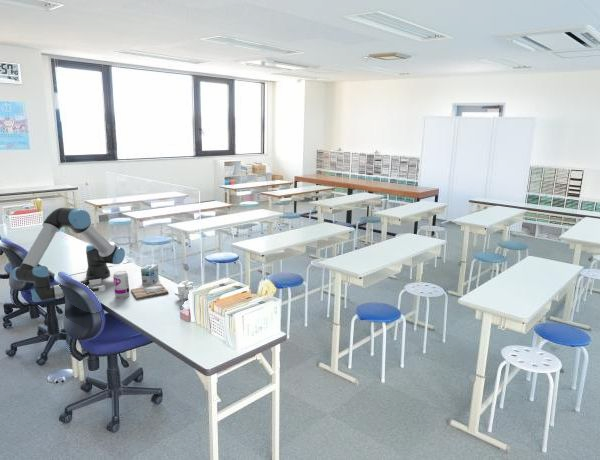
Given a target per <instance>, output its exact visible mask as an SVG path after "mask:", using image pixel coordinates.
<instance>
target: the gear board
mask: <svg viewBox="0 0 600 460" xmlns="http://www.w3.org/2000/svg"><path fill="white" fill-rule="evenodd" d="M130 293H131V294H132V295H133V297H134V298H135V300H136V301H139V300H144V299H150V298H154V297H155V298H156V297H159V296H165V295H169V291H168V290H167V288H166V287H165V286H164V285H163V284H162V283H159V284H154V285H153V284H151V285H149V286H142V287H137V288H132V289H130Z"/></svg>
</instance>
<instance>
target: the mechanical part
mask: <svg viewBox="0 0 600 460" xmlns="http://www.w3.org/2000/svg"><path fill="white" fill-rule="evenodd" d="M193 288H195V289H196V286H195V285H194V282H193V281H189V280H188V279H185V280H183V281H181V282H179V284H178V285H177V289H175V290H174V295H175V296H177V297H178V299H179V300H181V302H183V300H185V299H188V294H189V290H191V289H193ZM188 300H189V299H188Z"/></svg>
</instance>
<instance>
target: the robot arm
mask: <svg viewBox="0 0 600 460" xmlns="http://www.w3.org/2000/svg"><path fill="white" fill-rule="evenodd" d="M62 228H69V229H71V231H72V232H74V233H75V234H80V235H81V236H82V237H83V238H84V239H85V240H86V241H87V242H88V243H89V244H88V245H87V246H86V247H85V254H86V259H87V260H86V261H87V262H86V263H87V270H86V273H85V276H86V279H83V280H82V281H79V282H81V283H83V284H85V285H86V286H92V287H88V288H89V289H91V290H92V291H93V293H97V292H103V291H105V290H106V286H105V285H99V286H94V287H93V285H98V284H102V279H106V278H108V277H110V276H111V271H110V268H109V267H108V265H107V264H109V265H110V264H112V265H120V264H121V263H123V262H124V260H125V256H126V251H125V249H124V248H123V247H122V246H117V245H116V244H115V243H114V242H113V241H109V240H108V239H107V238H105V236H104V235H103V234H102V233H101V232H100V231H98V229H97V228H95V226H94V225H92V218H91V214H90V213H89V212H88V211H87V210H85V209H81V208H73V207H72V208H71V207H59V208H56V209H54V210H52V212H51V213H49V214H48V216H47V217H46V218H45V220H44V221H43V223H42V228H41V230H40V232H39V233H38V235H37V236H36V239H35V241H33V243H32V246H31V247H30V248H29V250H28V252H27V254H26V256H25V257H24V258H23V261H22V262H21V264H20V266H17V267H15V268H14V269H12V271H11V278H12V279H13V280H15V281H18V282H25V283H33V284H34V288H32V289H30V293H31V299H32V302H35V303H37V302H44V301H49V300H50V301H51V300H55V299H57V300H59V299H61V298H66V297H65V296H64V293H63V290H62V289H61V287H60V286H59V285H60V284H55V285H51V283H50V272H49V268H48V267H47V266H46V265H39V264H40V261H41V260H42V259H43V257H44V254H45V253H46V251H47V249H48V248H49V246H50V244H51V243H52V240H53V239H54V237H55V235H56V234H57V233H58V232H60V230H61V229H62ZM86 286H85V287H86Z"/></svg>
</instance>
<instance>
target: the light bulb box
mask: <svg viewBox="0 0 600 460" xmlns="http://www.w3.org/2000/svg"><path fill="white" fill-rule="evenodd" d="M140 273H141V284H142V285H149V286H152V285H153V284H154V283H157V281H159V279H160V278H159V277H160V276H159V265H158V264H153V263H152V264H151V263H148V264H146V265H145V266H143V267H142V268H140Z"/></svg>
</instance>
